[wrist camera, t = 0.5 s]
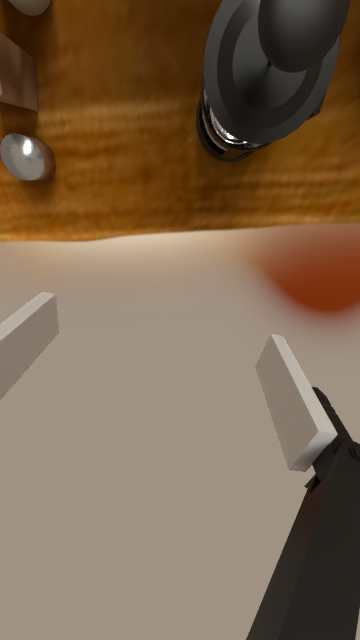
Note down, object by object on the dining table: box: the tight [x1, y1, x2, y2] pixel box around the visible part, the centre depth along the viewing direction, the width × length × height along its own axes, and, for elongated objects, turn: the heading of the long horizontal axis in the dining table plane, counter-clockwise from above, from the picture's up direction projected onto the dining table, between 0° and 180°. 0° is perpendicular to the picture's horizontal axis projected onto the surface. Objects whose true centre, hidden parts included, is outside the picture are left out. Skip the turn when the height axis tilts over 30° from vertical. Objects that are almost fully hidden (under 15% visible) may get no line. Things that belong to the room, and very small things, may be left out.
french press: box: [197, 0, 350, 162], centre depth 21 cm, size 12×9×23 cm
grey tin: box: [0, 133, 56, 180], centre depth 33 cm, size 5×5×4 cm
